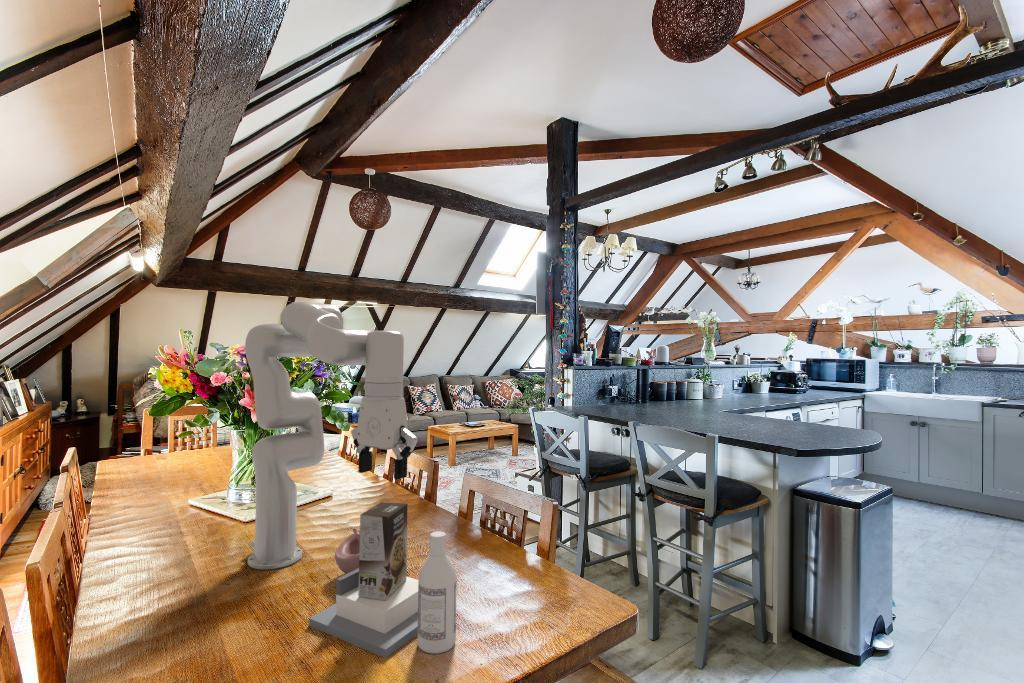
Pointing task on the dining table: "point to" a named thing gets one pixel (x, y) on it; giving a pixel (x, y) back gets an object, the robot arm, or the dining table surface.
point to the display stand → (371, 616)
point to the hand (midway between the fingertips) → (382, 474)
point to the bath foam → (437, 599)
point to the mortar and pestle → (349, 553)
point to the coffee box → (382, 550)
